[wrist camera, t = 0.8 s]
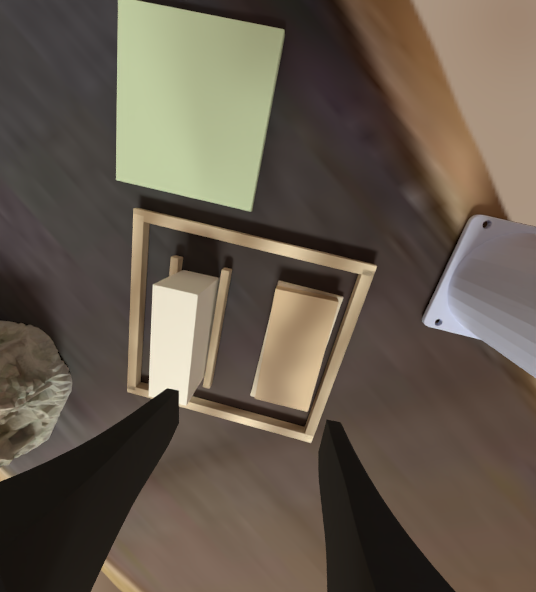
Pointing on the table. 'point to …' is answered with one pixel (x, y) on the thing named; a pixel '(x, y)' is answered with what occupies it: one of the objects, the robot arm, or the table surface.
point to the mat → (193, 101)
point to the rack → (137, 312)
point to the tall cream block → (181, 332)
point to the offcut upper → (295, 346)
